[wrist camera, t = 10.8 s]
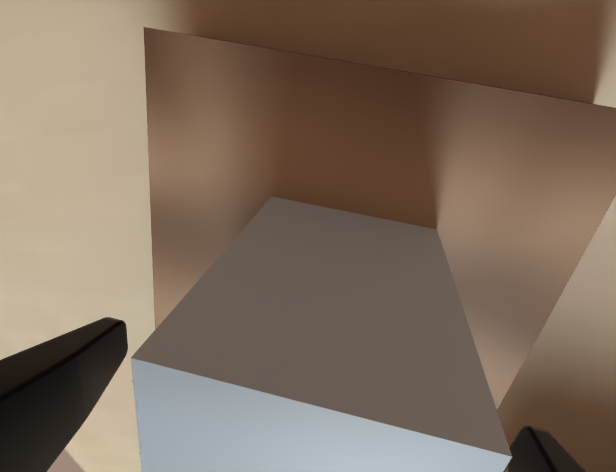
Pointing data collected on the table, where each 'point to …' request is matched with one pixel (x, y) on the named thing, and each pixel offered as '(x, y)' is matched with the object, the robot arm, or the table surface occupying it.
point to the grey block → (318, 356)
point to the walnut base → (377, 172)
